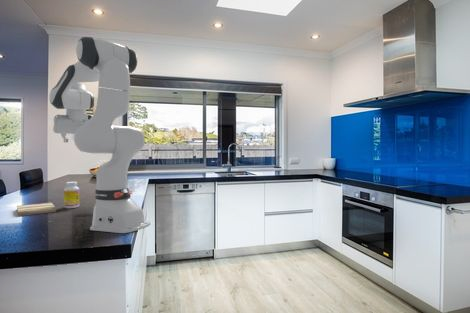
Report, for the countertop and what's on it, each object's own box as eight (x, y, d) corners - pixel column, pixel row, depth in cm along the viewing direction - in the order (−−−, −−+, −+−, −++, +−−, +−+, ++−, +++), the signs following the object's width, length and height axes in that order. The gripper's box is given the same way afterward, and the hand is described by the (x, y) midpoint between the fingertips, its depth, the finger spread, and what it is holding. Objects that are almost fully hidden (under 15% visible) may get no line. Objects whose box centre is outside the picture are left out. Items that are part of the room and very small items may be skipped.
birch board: (55, 211, 131) (55, 207, 131) (18, 216, 122) (18, 211, 122) (51, 206, 143) (51, 202, 143) (17, 210, 134) (17, 205, 134)
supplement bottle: (78, 208, 139) (77, 182, 139) (63, 209, 137) (62, 183, 136) (80, 205, 145) (79, 181, 145) (65, 206, 143) (65, 181, 143)
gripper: (57, 114, 133) (56, 143, 135) (98, 117, 150) (97, 142, 152) (51, 113, 136) (50, 141, 138) (91, 116, 153) (91, 141, 155)
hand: (75, 142), depth 145 cm, fingers open, 8 cm apart
